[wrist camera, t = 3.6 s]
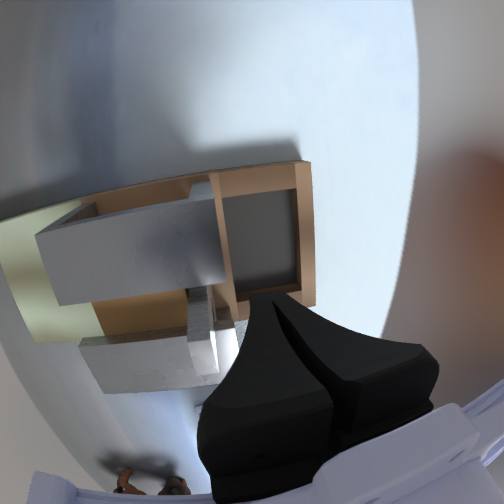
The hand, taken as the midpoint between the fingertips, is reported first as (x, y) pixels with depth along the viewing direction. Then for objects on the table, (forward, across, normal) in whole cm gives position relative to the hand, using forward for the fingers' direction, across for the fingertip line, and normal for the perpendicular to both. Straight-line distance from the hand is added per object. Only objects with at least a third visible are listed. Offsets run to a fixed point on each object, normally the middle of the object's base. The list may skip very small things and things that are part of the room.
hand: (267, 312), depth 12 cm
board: (+8, +7, 0) cm, 11 cm away
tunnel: (+7, +5, 0) cm, 9 cm away
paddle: (+7, +3, 0) cm, 7 cm away
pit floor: (+8, -1, 0) cm, 9 cm away
